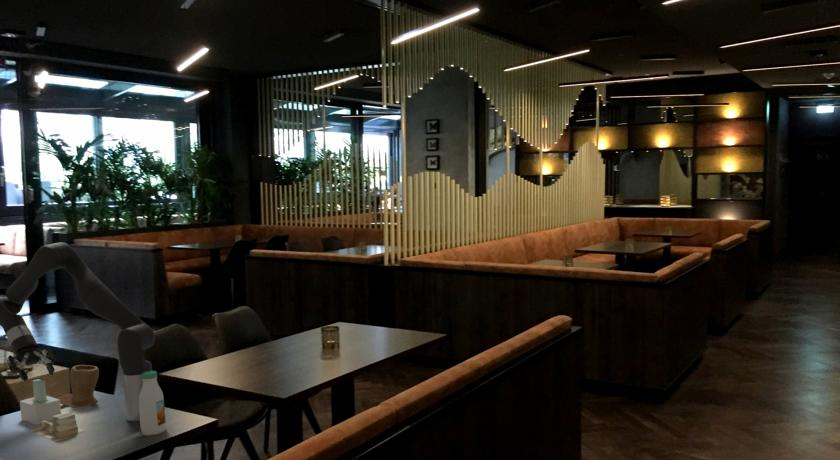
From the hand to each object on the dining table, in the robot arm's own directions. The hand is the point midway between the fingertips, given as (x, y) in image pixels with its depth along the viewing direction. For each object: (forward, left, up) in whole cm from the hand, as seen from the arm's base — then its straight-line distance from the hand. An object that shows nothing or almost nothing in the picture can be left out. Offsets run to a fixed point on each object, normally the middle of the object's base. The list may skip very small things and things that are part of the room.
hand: (39, 376), depth 232 cm
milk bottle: (-43, +16, -17) cm, 49 cm away
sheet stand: (+1, -1, -17) cm, 17 cm away
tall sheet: (+1, -1, -16) cm, 16 cm away
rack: (-11, +13, -17) cm, 24 cm away
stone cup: (-5, -19, -17) cm, 26 cm away
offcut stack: (-15, +16, -15) cm, 27 cm away
